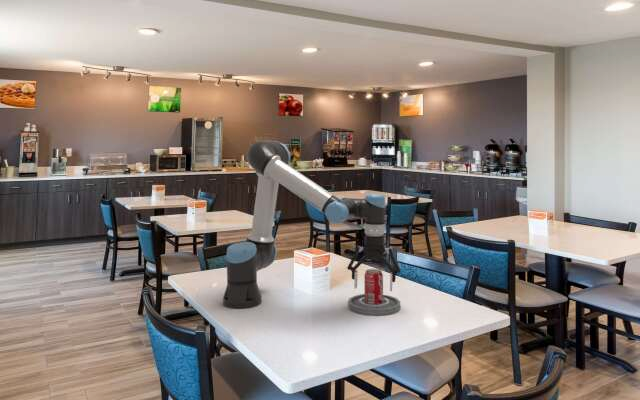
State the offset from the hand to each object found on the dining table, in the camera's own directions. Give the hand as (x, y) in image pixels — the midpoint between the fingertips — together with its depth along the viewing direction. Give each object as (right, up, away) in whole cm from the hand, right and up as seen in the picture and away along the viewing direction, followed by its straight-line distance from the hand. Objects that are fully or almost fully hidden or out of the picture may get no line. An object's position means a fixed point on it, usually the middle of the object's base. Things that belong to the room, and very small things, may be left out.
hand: (373, 288), depth 182 cm
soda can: (0, -6, 0) cm, 6 cm away
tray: (0, -7, +1) cm, 7 cm away
